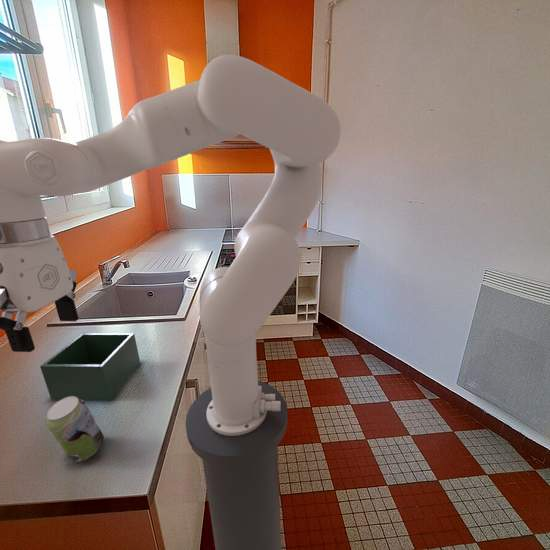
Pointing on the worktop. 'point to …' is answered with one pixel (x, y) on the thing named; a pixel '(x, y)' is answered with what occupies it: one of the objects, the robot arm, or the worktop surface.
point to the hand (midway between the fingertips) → (48, 334)
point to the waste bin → (92, 366)
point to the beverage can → (74, 428)
